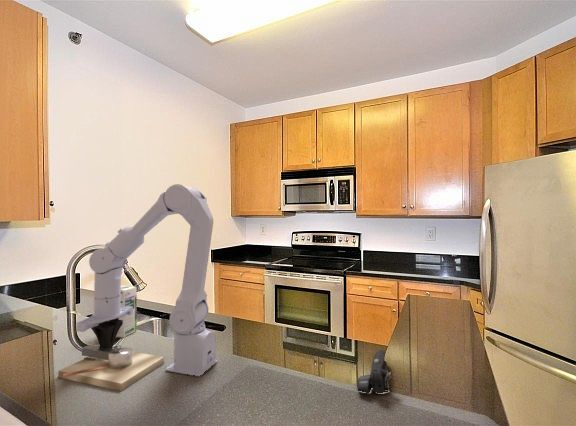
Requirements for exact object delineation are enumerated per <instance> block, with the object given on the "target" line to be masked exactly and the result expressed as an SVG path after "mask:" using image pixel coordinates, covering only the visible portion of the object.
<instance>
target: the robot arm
mask: <svg viewBox="0 0 576 426" xmlns="http://www.w3.org/2000/svg"><path fill="white" fill-rule="evenodd" d="M207 199H208V198H207V197H206V195H204V194H203V193H202V191H200V190H199V189H197V188H194V187H189V186H186V185H183V184H180V183H178V184H177V183H176V184H172V185H170V186H169V187H167V189H166V190H165V191H164V192H162V193H161V194H159V197H158V199H157V200H156V202H155V203H154V204H153V205H152V206H151V207H150V208H149V209H148V210H147V211H146V213H144V215H143V216H142V217H141V218H140V219H139V220H137V222H136V223H135V224H134V225H133V226H126V227H123V228H120V229H119V230H117V233H118V234H117V235H116V236H115V237H114V238H113V239H111V240H110V241H109V242H107V243H105V244H104V248H99V249H95V250H94V251H93V252H92V253H91V254H90V257H89V260H88V262H89V263H88V264H89V267H90V269H91V270H92V272H94V283H93V286H94V295H93V298H94V299H93V303H94V304H93V313H92V314H91V316H89V317H86V318H85V319H83V320H81V321H78V322H76V332H82V333H84V332H86V331H88V330H89V329H90V330H92V332H93V333H94V335H95V337H96V338H97V341H98V344H99V345H98V346H99V347H104V348H110V349H114V347H113V346H114V343H115V341H116V338H117V337H116V335H117V333H118V331H119V329H120V327H121V326H122V324H123V320H119V318H120V317H123V316H125V315H131V314H133V307H131V306H126V307H123V308H120V297H121V286H122V283H121V281H122V274H123V268H124V267H125V265H126V264H127V260H128V258H129V257H130V256H131V255H132V254H133V253H134V252H136V251H137V250H138V249H139V248H140V247H141V246H142V245H143V244H144V242H145V235H147V234H148V233H149V232H150V231H151V230H153V228H155V227H156V226H157V225H158V224H159V223H160V222H162V221H163V220H164V219H166V218H167V217H168V216H172V215H177V214H178V215H180V216H182V218H183V219H184V220H185V221H186V222H187V224H189V227H190V229H189V235H188V242H187V249H186V257H185V263H184V264H185V265H184V271H183V276H182V277H183V278H182V287H181V291H180V292H179V294H178V297H177V298H176V300H175V305H174V308H173V310H172V311H171V313H170V315H169V318H168V319H169V321H168V322H169V325H170V327H171V329H172V331H173V333H174V334H173V337H174V339H173V341H174V342H173V363H171V364H170V365H168V366H167V367H166V368H165V371H166V372H171V373H176V374H177V373H178V374H184V375H187V374H188V375H187V376H193V375H195V376H194V377H201V376H202V375H203V374H204V372H205V371H206V370H207V371H208V370H209V369H211V368H212V367H213V366H214V365H215V364H216V363H218V360H217V357H216V353H217V349H216V348H217V347H216V346H217V343H216V341H217V340H216V334H215V332H214V331H211V330H208V329H207V328H206V324H205V319H206V318H207V316H208V315H209V305H208V302H207V299H208V298H207V297H208V294H207V292H206V291H205V285H206V278H207V272H208V265H209V258H210V257H209V256H210V251H211V250H210V248H211V243H212V235H213V227H214V218H213V215H212V212H211V209H210V207H209V204H208V200H207ZM212 365H213V366H212ZM211 366H212V367H211ZM207 371H206V372H207ZM206 372H205V373H206ZM200 375H201V376H200Z"/></svg>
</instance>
